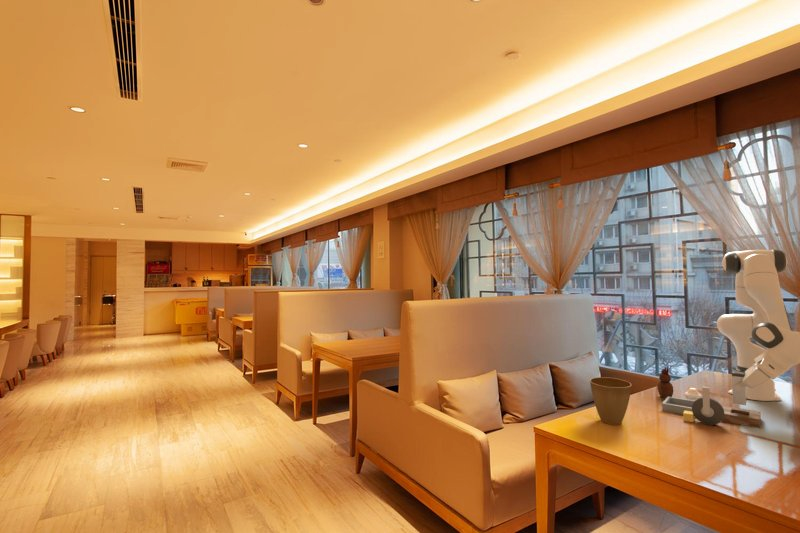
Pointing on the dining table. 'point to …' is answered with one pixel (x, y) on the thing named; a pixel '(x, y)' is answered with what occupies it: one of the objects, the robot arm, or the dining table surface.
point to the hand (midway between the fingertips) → (736, 386)
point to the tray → (677, 405)
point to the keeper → (741, 416)
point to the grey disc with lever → (705, 410)
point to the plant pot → (610, 398)
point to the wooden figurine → (665, 384)
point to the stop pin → (738, 395)
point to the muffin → (692, 394)
